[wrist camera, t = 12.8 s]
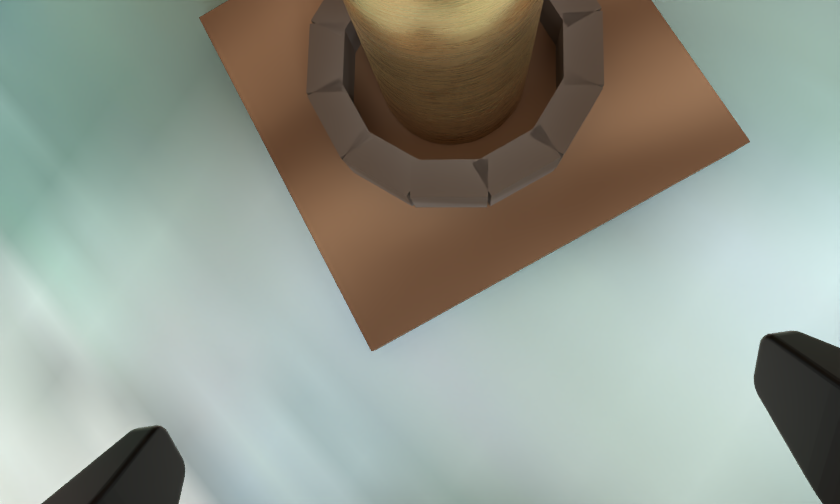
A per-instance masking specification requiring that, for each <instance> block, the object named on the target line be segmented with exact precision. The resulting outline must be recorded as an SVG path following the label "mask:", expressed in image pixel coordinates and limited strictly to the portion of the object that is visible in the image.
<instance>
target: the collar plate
mask: <svg viewBox="0 0 840 504" xmlns="http://www.w3.org/2000/svg"><path fill="white" fill-rule="evenodd" d="M199 18H200V20H201V22H202V24H203V26H204V28H205V30H206V32H207V34H208V36H209V38H210V40H211V42H212V44H213V46H214V47H215V49H216V51H217V53H218V55H219V57H220V59H221V61H222V63H223V65H224V67H225V69H226V71H227V73H228V75H229V76H230V78H231V80H232V82H233V84H234V86H235V88H236V90H237V92H238V94H239V96H240V98H241V100H242V102H243V104H244V106H245V107H246V109H247V111H248V113H249V115H250V117H251V119H252V121H253V123H254V125H255V127H256V129H257V131H258V133H259V135H260V136H261V138H262V140H263V142H264V144H265V146H266V148H267V150H268V152H269V154H270V156H271V158H272V160H273V162H274V164H275V166H276V167H277V169H278V171H279V173H280V175H281V177H282V179H283V181H284V183H285V185H286V187H287V189H288V191H289V193H290V195H291V196H292V198H293V200H294V202H295V204H296V206H297V208H298V210H299V212H300V214H301V216H302V218H303V220H304V222H305V224H306V226H307V227H308V229H309V231H310V233H311V235H312V237H313V239H314V241H315V243H316V245H317V247H318V249H319V251H320V253H321V255H322V256H323V258H324V260H325V262H326V264H327V266H328V268H329V270H330V272H331V274H332V276H333V278H334V280H335V282H336V284H337V286H338V287H339V289H340V291H341V293H342V295H343V297H344V299H345V301H346V303H347V305H348V307H349V309H350V311H351V313H352V315H353V316H354V318H355V320H356V322H357V324H358V326H359V328H360V330H361V332H362V334H363V336H364V338H365V340H366V342H367V344H368V346H369V347H370V349H371V351H374V350H377V349H378V348H380V347H382V346H384V345H386V344H387V343H389V342H391V341H393V340H395V339H396V338H398V337H400V336H402V335H404V334H405V333H407V332H409V331H411V330H413V329H414V328H416V327H418V326H420V325H422V324H424V323H425V322H427V321H429V320H431V319H433V318H434V317H436V316H438V315H440V314H442V313H443V312H445V311H447V310H449V309H451V308H452V307H454V306H456V305H458V304H460V303H461V302H463V301H465V300H467V299H469V298H470V297H472V296H474V295H476V294H478V293H479V292H481V291H483V290H485V289H487V288H488V287H490V286H492V285H494V284H496V283H497V282H499V281H501V280H503V279H505V278H506V277H508V276H510V275H512V274H514V273H516V272H517V271H519V270H521V269H523V268H525V267H526V266H528V265H530V264H532V263H534V262H535V261H537V260H539V259H541V258H543V257H544V256H546V255H548V254H550V253H552V252H553V251H555V250H557V249H559V248H561V247H562V246H564V245H566V244H568V243H570V242H571V241H573V240H575V239H577V238H579V237H580V236H582V235H584V234H586V233H588V232H589V231H591V230H593V229H595V228H597V227H598V226H600V225H602V224H604V223H606V222H608V221H609V220H611V219H613V218H615V217H617V216H618V215H620V214H622V213H624V212H626V211H627V210H629V209H631V208H633V207H635V206H636V205H638V204H640V203H642V202H644V201H645V200H647V199H649V198H651V197H653V196H654V195H656V194H658V193H660V192H662V191H663V190H665V189H667V188H669V187H671V186H672V185H674V184H676V183H678V182H680V181H681V180H683V179H685V178H687V177H689V176H690V175H692V174H694V173H696V172H698V171H700V170H701V169H703V168H705V167H707V166H709V165H710V164H712V163H714V162H716V161H718V160H719V159H721V158H723V157H725V156H727V155H728V154H730V153H732V152H734V151H736V150H737V149H739V148H741V147H742V146H744V145H745V144H747V143H749V142H750V141H749V139H748V138H747V136H746V135H745V134H744V132H743V131H742V129H741V128H740V126H739V125H738V124H737V122H736V121H735V119H734V118H733V116H732V115H731V114H730V112H729V111H728V109H727V108H726V106H725V105H724V104H723V102H722V101H721V99H720V98H719V96H718V95H717V94H716V92H715V91H714V89H713V88H712V86H711V85H710V84H709V82H708V81H707V79H706V78H705V76H704V75H703V74H702V72H701V71H700V69H699V68H698V66H697V65H696V64H695V62H694V61H693V59H692V58H691V56H690V55H689V54H688V52H687V51H686V49H685V48H684V46H683V45H682V44H681V42H680V41H679V39H678V38H677V36H676V35H675V34H674V32H673V31H672V29H671V28H670V26H669V25H668V24H667V22H666V21H665V19H664V18H663V16H662V15H661V14H660V12H659V11H658V9H657V8H656V6H655V5H654V4H653V2H652V1H651V0H544V1H543V5H542V10H541V14H540V19H539V23H538V28H537V32H536V37H535V41H534V46H533V50H532V55H531V59H530V64H529V68H528V73H527V77H526V82H525V86H524V90H523V93H522V97H521V99H520V101H519V103H518V105H517V107H516V109H515V110H514V112H513V113H512V115H511V116H510V117H509V118H508V119H507V121H506V122H505V123H504V124H502V125H501V126H500V127H499V128H498V129H497V130H495V131H494V132H492V133H491V134H489V135H487V136H485V137H483V138H481V139H478V140H476V141H473V142H469V143H464V144H456V145H444V144H437V143H433V142H429V141H426V140H423V139H421V138H419V137H417V136H415V135H414V134H412V133H410V132H409V131H408V130H406V129H405V128H404V127H403V126H402V125H401V124H400V123H399V122H398V121H397V120H396V119H395V117H394V116H393V114H392V113H391V111H390V109H389V107H388V105H387V103H386V101H385V98H384V96H383V94H382V91H381V89H380V87H379V84H378V82H377V80H376V77H375V75H374V72H373V70H372V68H371V65H370V63H369V61H368V58H367V56H366V54H365V51H364V49H363V46H362V44H361V42H360V39H359V37H358V35H357V32H356V30H355V28H354V25H353V23H352V20H351V18H350V16H349V13H348V11H347V9H346V6H345V4H344V2H343V0H228V1H226V2H225V3H223V4H221V5H220V6H218V7H216V8H214V9H213V10H211V11H209V12H208V13H206V14H204V15H203V16H201V17H199Z"/></svg>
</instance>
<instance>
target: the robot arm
mask: <svg viewBox="0 0 840 504" xmlns="http://www.w3.org/2000/svg"><path fill="white" fill-rule="evenodd" d="M754 385H755V389H756V391H757V394H758V396H759V397H760V399H761V401H762V403H763V404H764V406H765V408H766V409H767V411H768V413H769V415H770V416H771V418H772V420H773V422H774V423H775V425H776V427H777V428H778V430H779V432H780V434H781V435H782V437H783V439H784V441H785V442H786V444H787V446H788V447H789V449H790V451H791V453H792V454H793V456H794V458H795V460H796V461H797V463H798V465H799V467H800V468H801V470H802V472H803V473H804V475H805V477H806V478H807V480H808V482H809V483H810V485H811V487H812V488H813V490H814V491H815V493H816V495H817V496H818V497H819V499H820V500H821V502H822V503H823V504H840V348H839V347H836V346H834V345H831V344H829V343H826V342H824V341H821V340H819V339H816V338H814V337H811V336H809V335H806V334H804V333H801V332H798V331H785V332H778V333H772V334H767V335H765V336H764V337H763V338H762V339H761V341H760V345H759V351H758V356H757V362H756V367H755V373H754ZM184 477H185V465H184V461H183V458H182V456H181V455H180V453H179V451H178V449H177V448H176V446H175V444H174V442H173V441H172V439H171V437H170V435H169V434H168V432H167V430H166V429H165V428H163V427H162V426H158V425H155V426H148V427H142V428H137V429H134V430H132V431H130V432H129V433H128V434H126V435H125V436H124V437H123V438H121V439H120V440H119V441H118V442H117V443H115V444H114V445H113V446H112V447H110V448H109V449H108V450H107V451H105V452H104V453H103V454H102V455H101V456H99V457H98V458H97V459H96V460H94V461H93V462H92V463H91V464H90V465H88V466H87V467H86V468H85V469H83V470H82V471H81V472H80V473H79V474H77V475H76V476H75V477H74V478H72V479H71V480H70V481H69V482H68V483H66V484H65V485H64V486H63V487H61V488H60V489H59V490H58V491H57V492H55V493H54V494H53V495H52V496H50V497H49V498H48V499H47V500H45V501H44V502H43V503H42V504H179V500H180V495H181V491H182V486H183V482H184Z"/></svg>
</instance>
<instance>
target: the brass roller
mask: <svg viewBox="0 0 840 504" xmlns="http://www.w3.org/2000/svg"><path fill="white" fill-rule="evenodd" d="M543 1H544V0H343V2H344V4H345V6H346V9H347V11H348V13H349V16H350V18H351V20H352V23H353V25H354V28H355V30H356V32H357V35H358V37H359V39H360V42H361V44H362V46H363V49H364V51H365V54H366V56H367V58H368V61H369V63H370V65H371V68H372V70H373V72H374V75H375V77H376V80H377V82H378V84H379V87H380V89H381V91H382V94H383V96H384V98H385V101H386V103H387V105H388V107H389V109H390V111H391V113H392V114H393V116H394V117H395V119H396V120H397V121H398V122H399V123H400V124H401V125H402V126H403V127H404V128H405V129H406V130H408V131H409V132H410V133H412V134H414V135H415V136H417V137H419V138H421V139H423V140H426V141H429V142H433V143H437V144H444V145H456V144H464V143H469V142H473V141H476V140H478V139H481V138H483V137H485V136H487V135H489V134H491V133H492V132H494V131H495V130H497V129H498V128H499V127H500V126H501V125H502V124H504V123H505V122H506V121H507V119H508V118H509V117H510V116H511V115H512V113H513V112H514V110H515V109H516V107H517V105H518V103H519V101H520V99H521V97H522V93H523V90H524V86H525V82H526V77H527V73H528V68H529V64H530V59H531V55H532V50H533V46H534V41H535V37H536V32H537V28H538V23H539V19H540V14H541V10H542V5H543Z"/></svg>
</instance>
